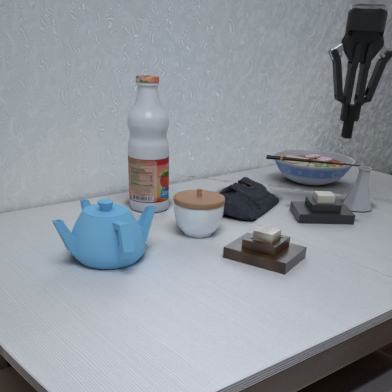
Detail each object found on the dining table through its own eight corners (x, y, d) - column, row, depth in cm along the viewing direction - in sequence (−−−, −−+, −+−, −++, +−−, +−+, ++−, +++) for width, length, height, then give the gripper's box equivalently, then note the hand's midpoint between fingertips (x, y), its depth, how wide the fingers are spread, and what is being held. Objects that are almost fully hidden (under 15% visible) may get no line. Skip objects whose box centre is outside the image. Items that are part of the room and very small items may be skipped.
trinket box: (225, 242, 104) (229, 196, 99) (174, 241, 103) (174, 195, 98) (219, 224, 113) (222, 182, 108) (172, 224, 112) (172, 181, 107)
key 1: (280, 239, 97) (281, 229, 95) (271, 245, 94) (272, 235, 93) (261, 234, 98) (262, 224, 97) (252, 240, 95) (253, 230, 94)
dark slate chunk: (192, 212, 119) (192, 192, 116) (227, 191, 136) (229, 173, 133) (252, 224, 114) (255, 203, 111) (282, 200, 131) (284, 181, 128)
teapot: (52, 267, 90) (44, 208, 84) (85, 238, 103) (80, 185, 97) (133, 278, 88) (131, 218, 82) (157, 247, 100) (157, 193, 94)
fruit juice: (126, 202, 124) (122, 73, 109) (164, 200, 126) (164, 74, 111) (133, 214, 116) (128, 77, 101) (172, 212, 119) (174, 78, 103)
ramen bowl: (352, 178, 152) (358, 150, 148) (354, 199, 134) (361, 168, 129) (270, 170, 157) (273, 143, 152) (261, 190, 138) (264, 159, 133)
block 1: (305, 257, 99) (308, 238, 97) (284, 274, 92) (287, 254, 89) (246, 242, 104) (248, 223, 102) (222, 257, 97) (224, 237, 95)
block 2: (341, 211, 125) (344, 194, 123) (353, 224, 117) (357, 207, 114) (289, 209, 124) (291, 193, 122) (298, 223, 116) (301, 206, 114)
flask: (363, 203, 131) (372, 163, 126) (376, 212, 125) (386, 171, 120) (337, 204, 130) (345, 163, 124) (349, 213, 124) (358, 171, 118)
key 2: (329, 199, 120) (330, 191, 119) (333, 205, 117) (335, 196, 116) (312, 199, 120) (314, 190, 119) (317, 204, 117) (318, 195, 115)
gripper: (341, 6, 95) (321, 140, 107) (409, 8, 95) (381, 141, 108) (330, 7, 101) (312, 133, 114) (393, 9, 102) (369, 134, 114)
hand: (346, 137), depth 111 cm, fingers closed
